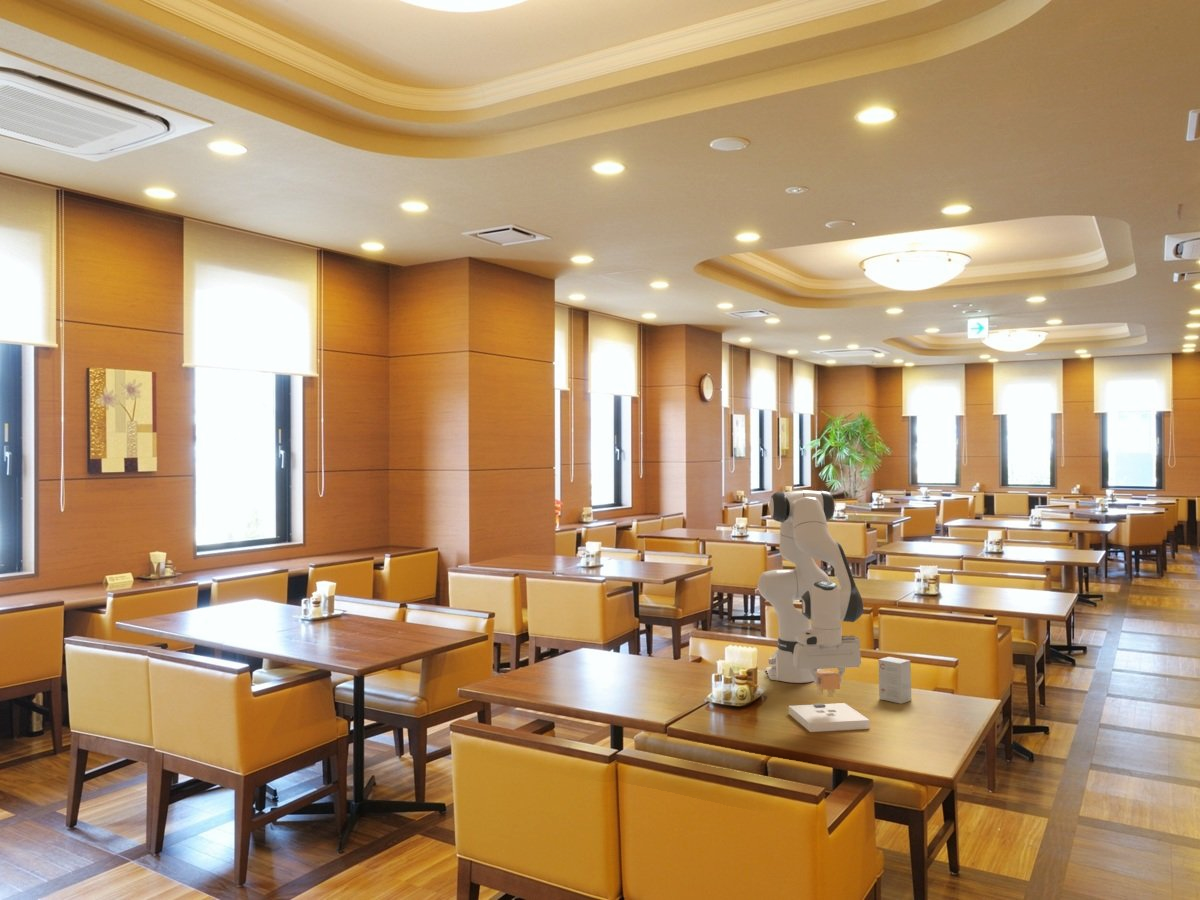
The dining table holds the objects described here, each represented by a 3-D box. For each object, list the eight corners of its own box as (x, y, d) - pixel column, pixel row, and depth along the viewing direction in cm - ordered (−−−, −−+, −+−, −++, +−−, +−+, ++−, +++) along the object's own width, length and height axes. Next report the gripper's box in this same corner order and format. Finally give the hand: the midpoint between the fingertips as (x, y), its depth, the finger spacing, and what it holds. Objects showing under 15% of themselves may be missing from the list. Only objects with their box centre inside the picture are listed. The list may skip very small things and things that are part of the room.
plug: (816, 692, 261) (815, 671, 261) (832, 691, 262) (831, 670, 262) (823, 697, 255) (823, 676, 255) (840, 696, 256) (839, 675, 256)
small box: (911, 700, 279) (911, 660, 279) (901, 704, 275) (900, 663, 275) (889, 695, 285) (888, 656, 286) (878, 699, 281) (877, 659, 281)
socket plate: (788, 714, 266) (788, 703, 266) (844, 711, 269) (844, 701, 269) (810, 732, 249) (809, 721, 249) (869, 728, 251) (869, 717, 251)
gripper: (855, 633, 263) (856, 678, 263) (790, 635, 261) (791, 682, 260) (864, 637, 257) (865, 683, 257) (798, 639, 254) (799, 687, 254)
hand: (827, 683), depth 258 cm, fingers closed on plug, 5 cm apart
